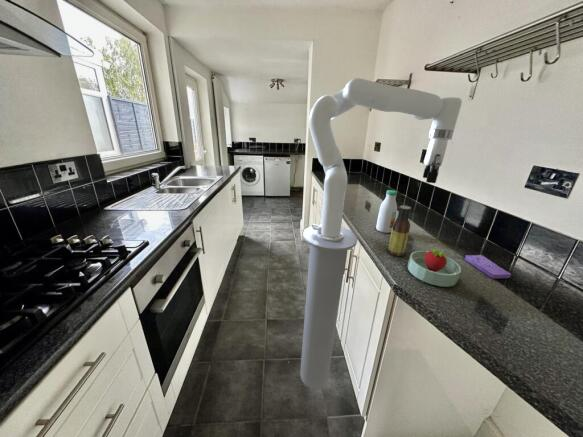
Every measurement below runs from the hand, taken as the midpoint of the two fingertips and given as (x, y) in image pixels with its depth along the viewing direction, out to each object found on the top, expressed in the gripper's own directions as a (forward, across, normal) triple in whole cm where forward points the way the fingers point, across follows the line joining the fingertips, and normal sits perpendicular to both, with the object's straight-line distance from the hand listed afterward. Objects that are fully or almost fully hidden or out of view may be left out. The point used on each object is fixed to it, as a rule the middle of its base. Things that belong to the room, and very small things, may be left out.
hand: (428, 180), depth 93 cm
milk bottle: (+28, -9, -12) cm, 32 cm away
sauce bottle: (+28, +13, -7) cm, 32 cm away
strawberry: (+28, +24, +4) cm, 37 cm away
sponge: (+28, +11, +24) cm, 39 cm away
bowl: (+28, +24, +4) cm, 37 cm away
